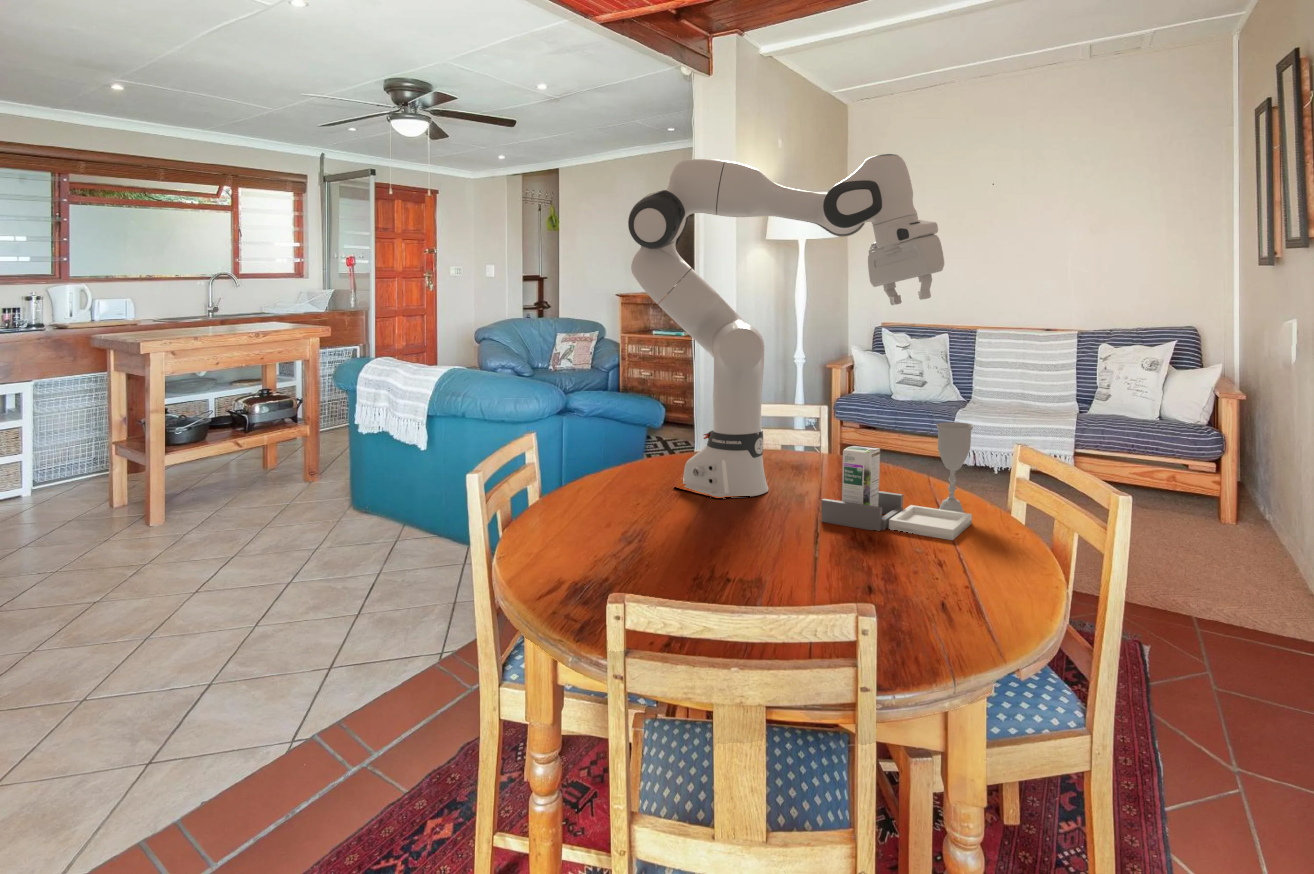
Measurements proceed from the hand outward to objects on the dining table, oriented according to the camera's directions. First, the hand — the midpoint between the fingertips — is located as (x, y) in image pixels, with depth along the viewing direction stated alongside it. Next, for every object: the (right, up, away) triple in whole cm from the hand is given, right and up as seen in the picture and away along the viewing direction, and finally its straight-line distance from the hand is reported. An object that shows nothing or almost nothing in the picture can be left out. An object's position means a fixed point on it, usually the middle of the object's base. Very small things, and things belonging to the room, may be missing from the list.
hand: (910, 301), depth 158 cm
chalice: (+8, -43, 0) cm, 44 cm away
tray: (+1, -45, -10) cm, 46 cm away
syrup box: (-11, -45, -3) cm, 46 cm away
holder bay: (-11, -44, -3) cm, 46 cm away
